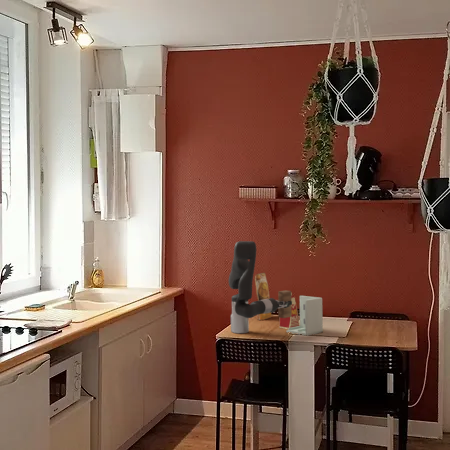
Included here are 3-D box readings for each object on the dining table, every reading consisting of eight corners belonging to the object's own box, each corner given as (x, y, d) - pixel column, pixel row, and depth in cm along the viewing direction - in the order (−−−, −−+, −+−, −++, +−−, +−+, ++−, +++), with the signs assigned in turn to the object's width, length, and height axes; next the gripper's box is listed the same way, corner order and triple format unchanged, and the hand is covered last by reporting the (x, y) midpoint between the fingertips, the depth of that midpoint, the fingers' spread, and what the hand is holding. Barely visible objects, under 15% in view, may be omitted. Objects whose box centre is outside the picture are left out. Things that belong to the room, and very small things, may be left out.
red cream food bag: (299, 327, 410) (299, 292, 410) (289, 329, 404) (289, 294, 403) (287, 325, 417) (286, 291, 416) (277, 327, 410) (276, 293, 409)
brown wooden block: (278, 317, 387) (278, 291, 387) (285, 315, 391) (285, 290, 391) (284, 318, 384) (283, 292, 384) (291, 316, 389) (291, 291, 388)
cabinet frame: (286, 332, 395) (285, 298, 395) (301, 329, 404) (301, 295, 404) (307, 335, 384) (306, 300, 384) (322, 332, 393) (322, 297, 393)
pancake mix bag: (251, 320, 437) (250, 274, 436) (265, 315, 453) (264, 271, 452) (261, 321, 433) (260, 275, 432) (274, 316, 450) (274, 271, 449)
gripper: (276, 300, 372) (298, 296, 384) (256, 297, 383) (278, 294, 394) (276, 314, 373) (298, 310, 385) (257, 311, 383) (278, 307, 395)
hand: (288, 302), depth 389 cm, fingers closed on brown wooden block, 4 cm apart
